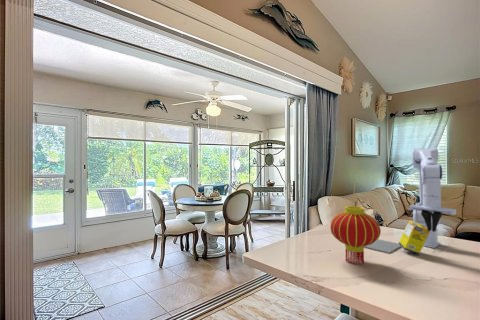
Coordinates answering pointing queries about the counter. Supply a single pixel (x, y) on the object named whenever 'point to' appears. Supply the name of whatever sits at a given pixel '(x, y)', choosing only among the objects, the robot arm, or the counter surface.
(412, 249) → the supplement box
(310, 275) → the counter surface
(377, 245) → the rubber mat
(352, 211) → the lantern
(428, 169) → the robot arm
